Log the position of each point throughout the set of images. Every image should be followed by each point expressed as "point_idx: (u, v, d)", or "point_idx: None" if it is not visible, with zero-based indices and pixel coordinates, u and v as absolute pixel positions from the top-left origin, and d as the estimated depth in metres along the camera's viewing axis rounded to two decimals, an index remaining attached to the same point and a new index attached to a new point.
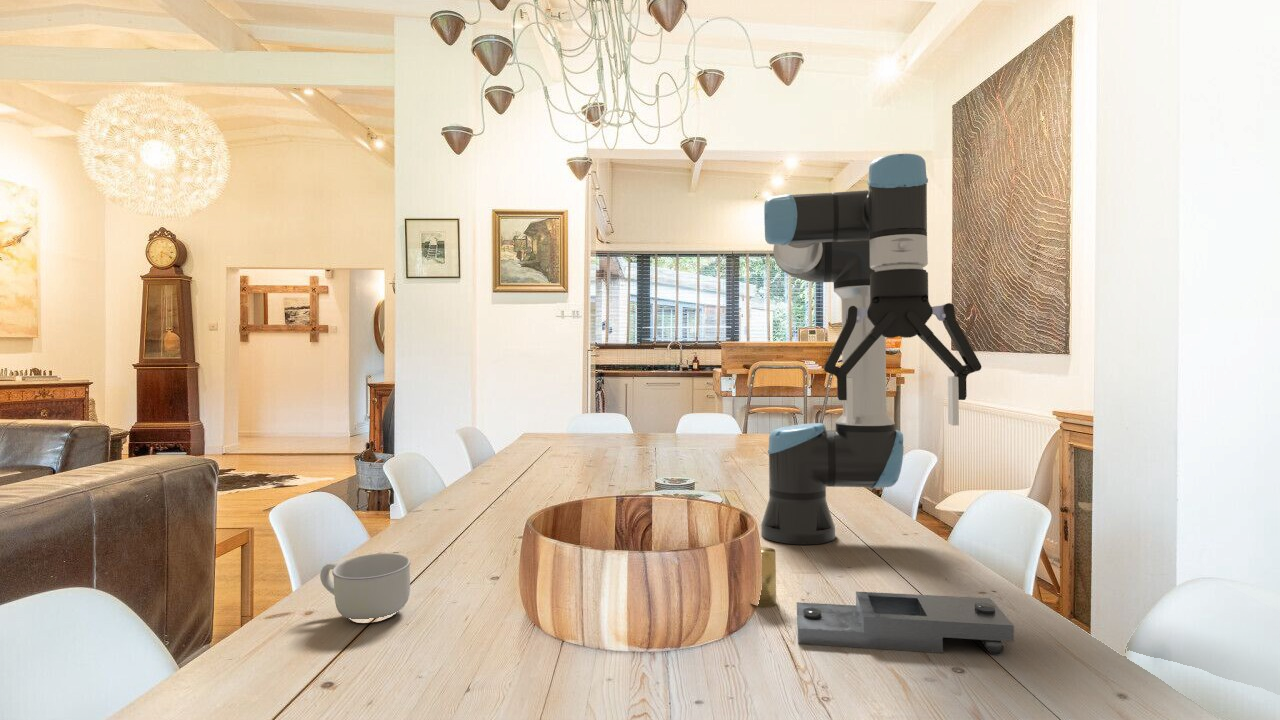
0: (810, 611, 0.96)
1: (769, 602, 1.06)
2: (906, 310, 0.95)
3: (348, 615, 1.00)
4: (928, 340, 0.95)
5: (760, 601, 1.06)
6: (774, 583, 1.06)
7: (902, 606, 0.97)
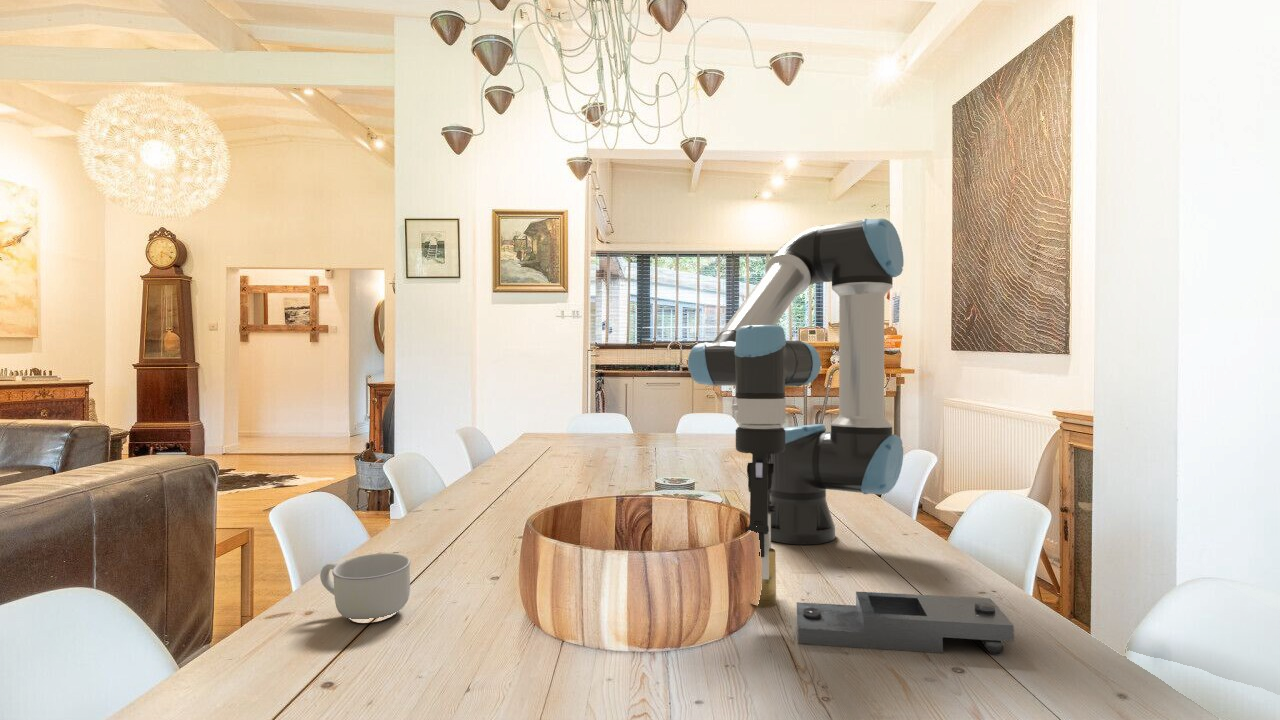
0: (810, 611, 0.96)
1: (769, 602, 1.06)
2: None
3: (348, 615, 1.00)
4: None
5: (760, 601, 1.06)
6: (774, 583, 1.06)
7: (902, 606, 0.97)
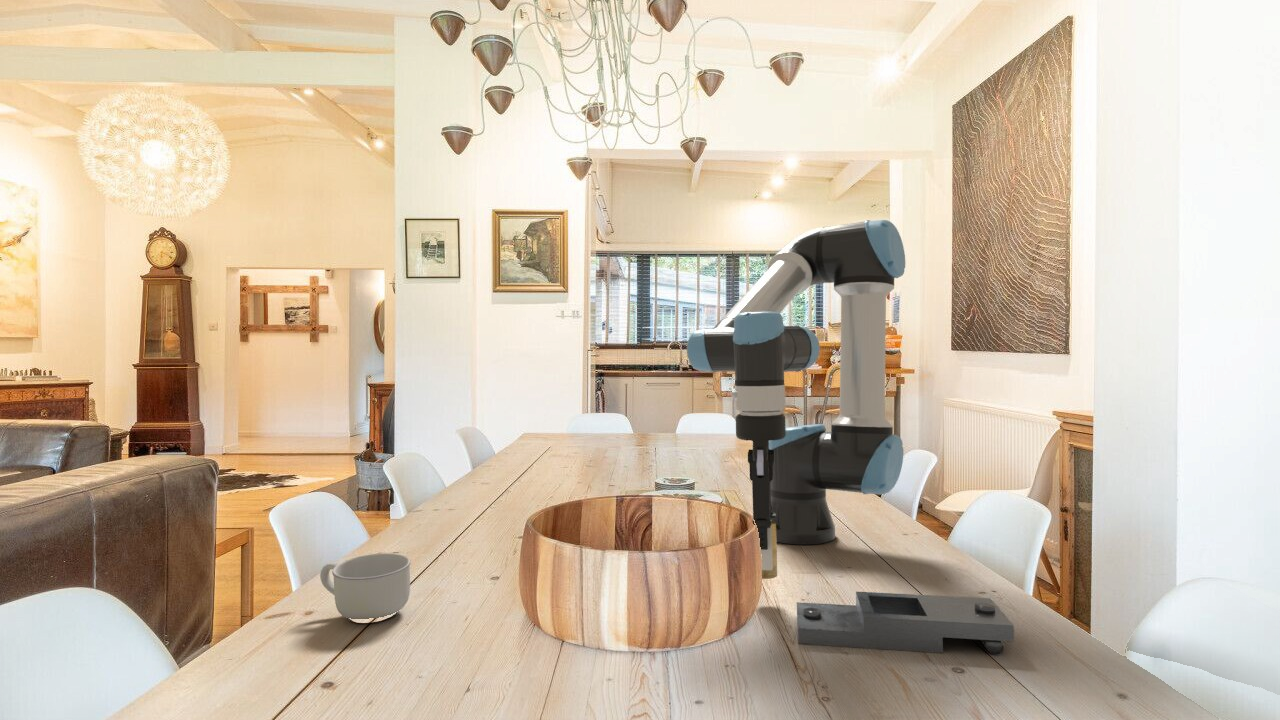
0: (810, 611, 0.96)
1: (770, 574, 1.06)
2: None
3: (348, 615, 1.00)
4: None
5: None
6: (775, 555, 1.07)
7: (902, 606, 0.97)
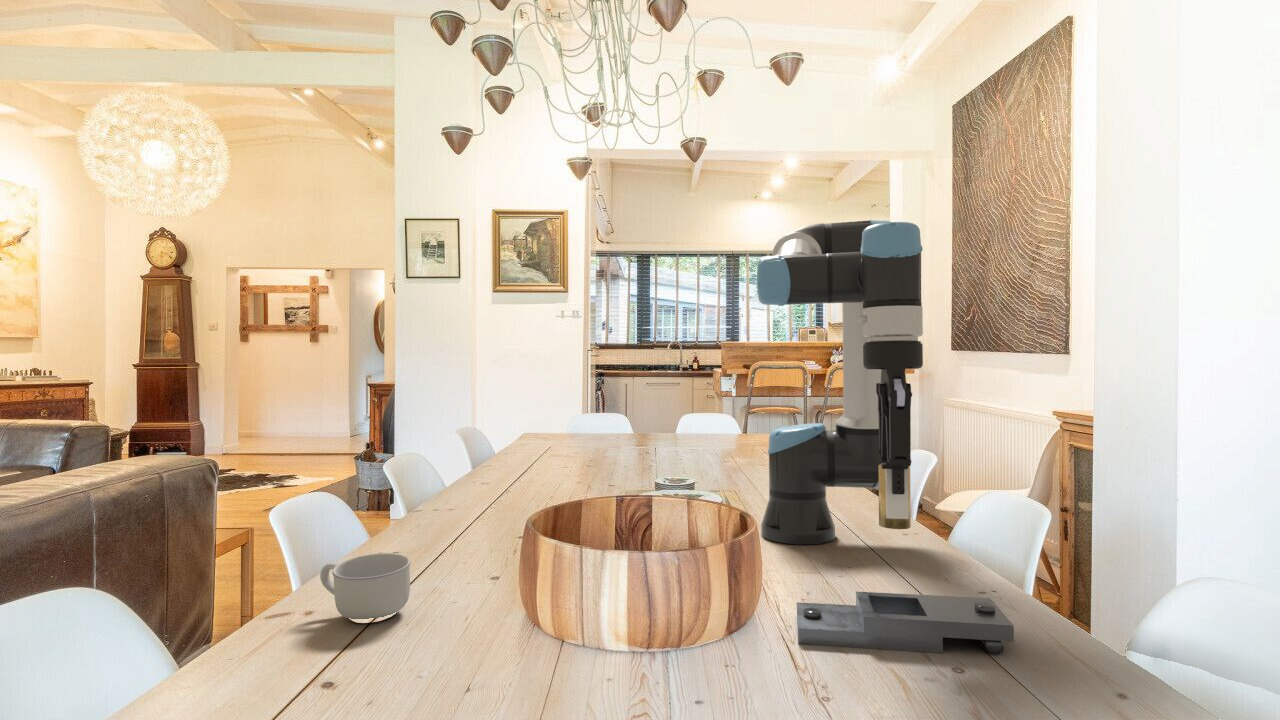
0: (810, 611, 0.96)
1: (904, 524, 0.92)
2: (885, 373, 0.93)
3: (348, 615, 1.00)
4: (885, 418, 0.93)
5: (894, 522, 0.92)
6: (909, 502, 0.93)
7: (902, 606, 0.97)
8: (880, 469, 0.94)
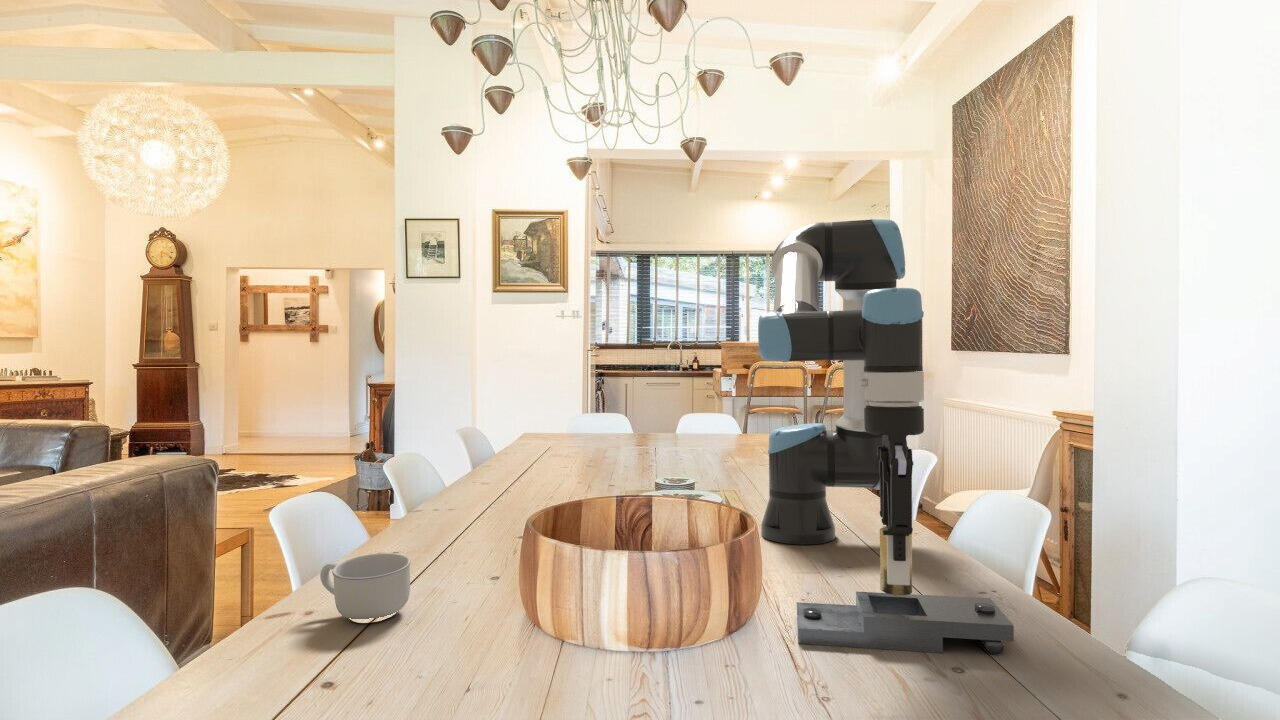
0: (810, 611, 0.96)
1: (906, 590, 0.92)
2: (886, 438, 0.93)
3: (348, 615, 1.00)
4: (887, 483, 0.93)
5: (895, 588, 0.92)
6: (911, 568, 0.93)
7: (902, 606, 0.97)
8: (881, 534, 0.94)
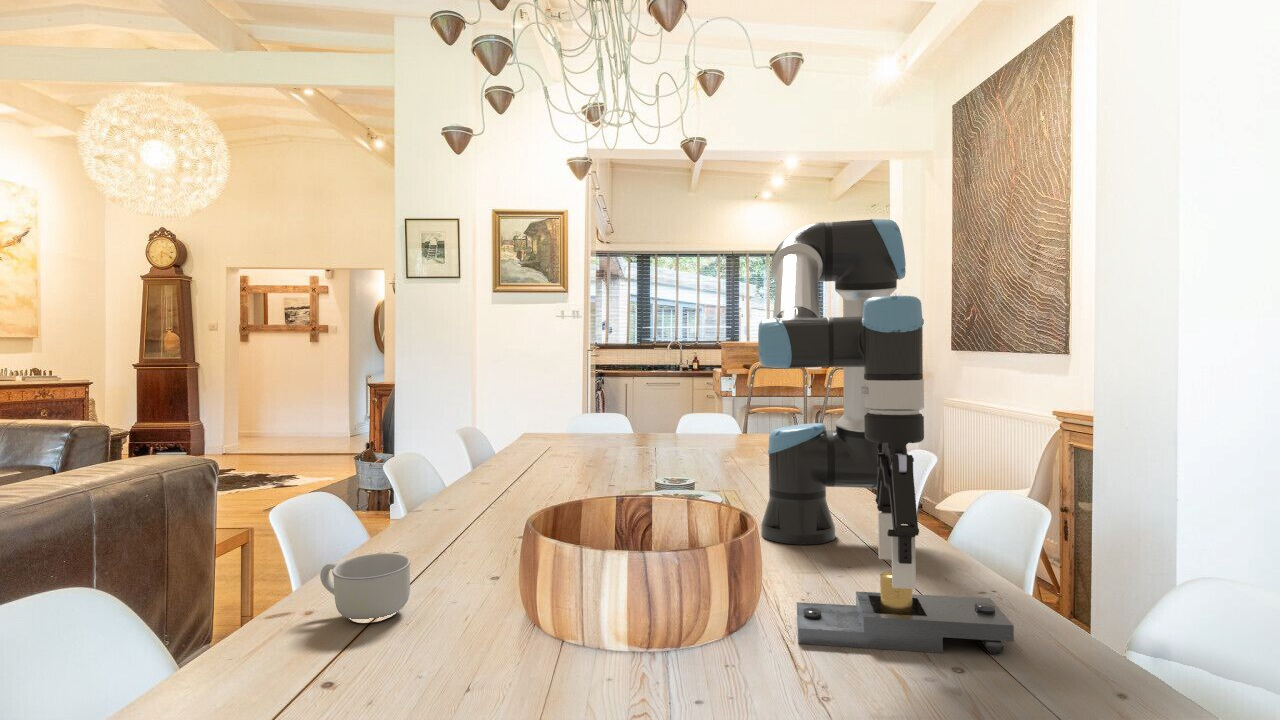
0: (810, 611, 0.96)
1: None
2: (886, 453, 0.94)
3: (348, 615, 1.00)
4: (889, 489, 0.91)
5: None
6: (911, 613, 0.93)
7: None
8: (882, 579, 0.94)
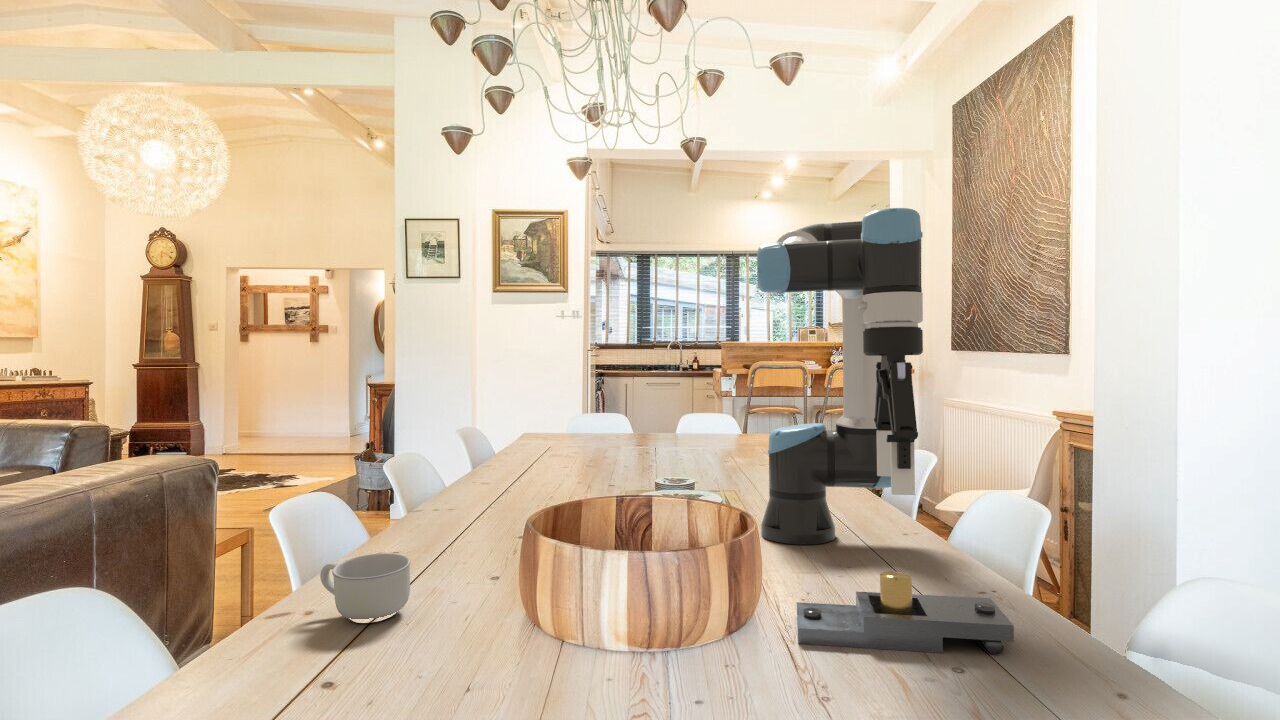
0: (810, 611, 0.96)
1: None
2: (885, 368, 0.94)
3: (348, 615, 1.00)
4: (887, 400, 0.91)
5: None
6: (911, 613, 0.93)
7: None
8: (882, 579, 0.94)
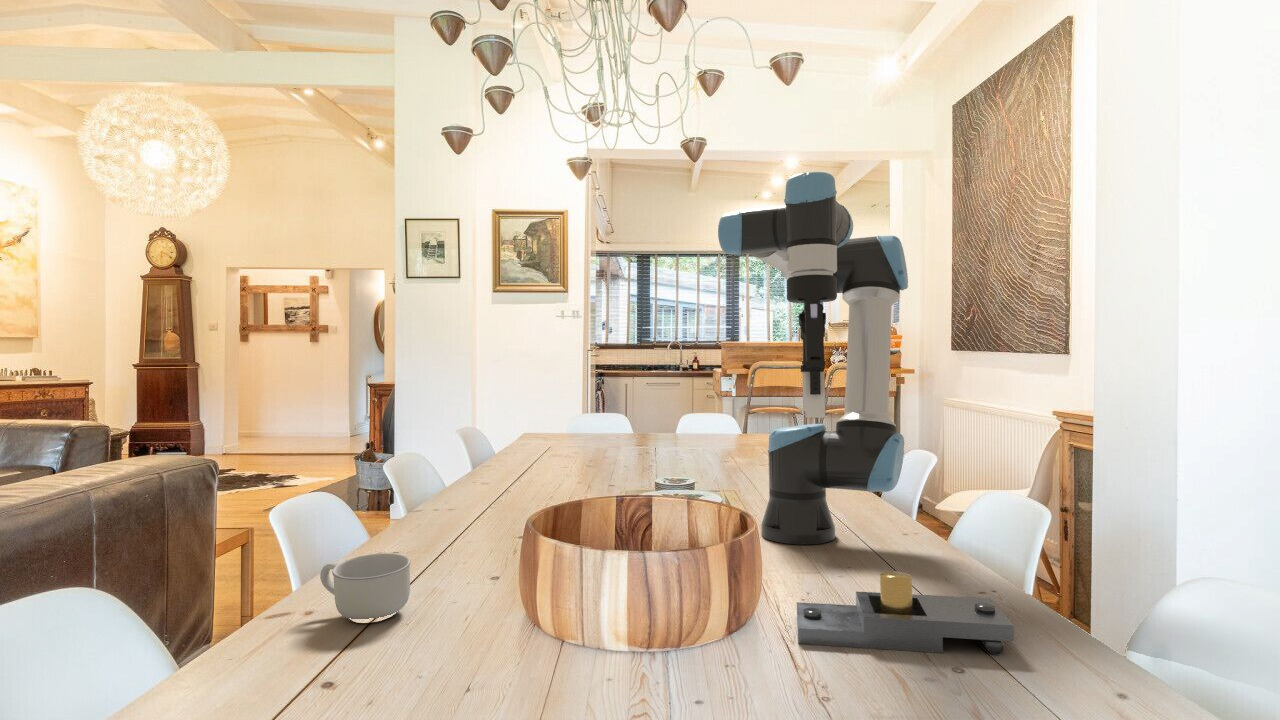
0: (810, 611, 0.96)
1: None
2: (804, 312, 1.07)
3: (348, 615, 1.00)
4: (805, 338, 1.05)
5: None
6: (911, 613, 0.93)
7: None
8: (882, 579, 0.94)
